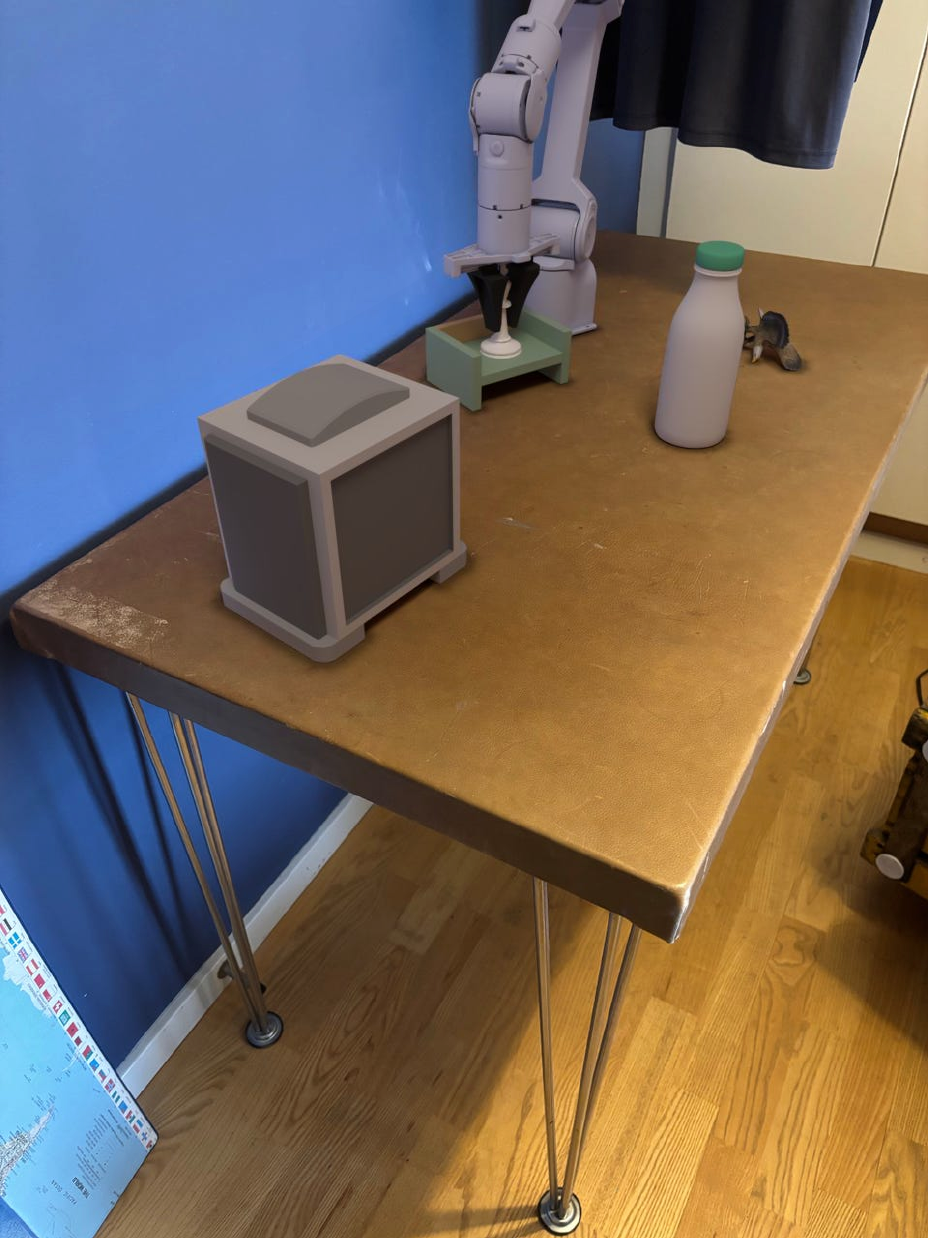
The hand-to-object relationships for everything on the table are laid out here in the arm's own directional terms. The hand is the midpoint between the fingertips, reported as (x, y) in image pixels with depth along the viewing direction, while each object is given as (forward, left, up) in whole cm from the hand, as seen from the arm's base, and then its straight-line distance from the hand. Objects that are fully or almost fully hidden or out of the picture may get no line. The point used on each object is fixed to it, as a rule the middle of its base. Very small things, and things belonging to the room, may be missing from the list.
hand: (501, 327), depth 106 cm
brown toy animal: (-32, +13, -7) cm, 35 cm away
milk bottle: (-10, +22, -7) cm, 25 cm away
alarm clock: (+34, +25, -7) cm, 43 cm away
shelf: (0, -1, -7) cm, 7 cm away
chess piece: (0, 0, -3) cm, 3 cm away
